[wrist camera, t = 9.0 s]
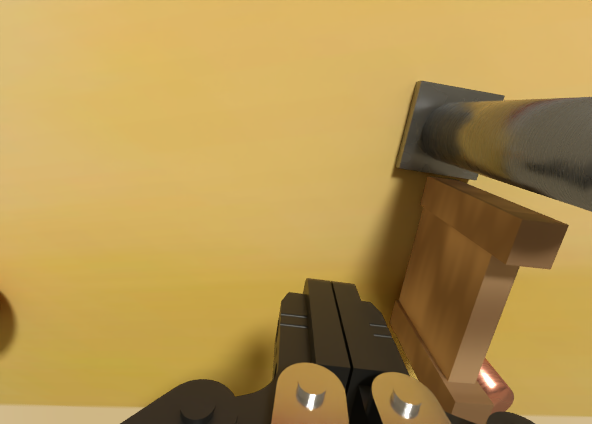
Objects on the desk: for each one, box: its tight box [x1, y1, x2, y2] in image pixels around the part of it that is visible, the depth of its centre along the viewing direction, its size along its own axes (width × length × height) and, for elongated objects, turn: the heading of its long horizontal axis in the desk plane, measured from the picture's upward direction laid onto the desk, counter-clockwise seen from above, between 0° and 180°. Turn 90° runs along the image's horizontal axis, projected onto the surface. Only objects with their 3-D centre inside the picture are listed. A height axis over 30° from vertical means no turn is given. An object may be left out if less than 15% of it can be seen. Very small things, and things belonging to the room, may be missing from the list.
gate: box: [390, 176, 569, 424], centre depth 15 cm, size 9×2×7 cm, turn 173°
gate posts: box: [391, 81, 592, 415], centre depth 14 cm, size 6×15×10 cm, turn 171°
